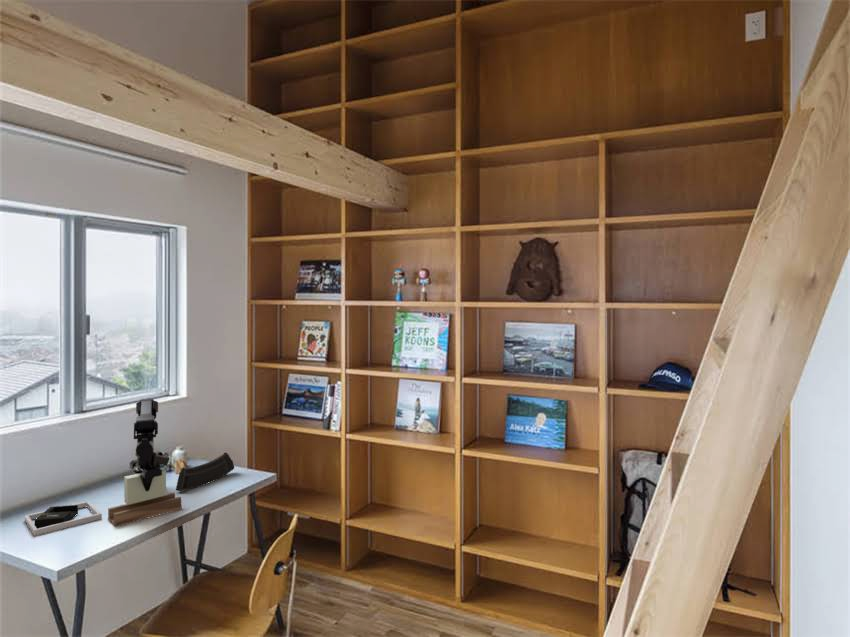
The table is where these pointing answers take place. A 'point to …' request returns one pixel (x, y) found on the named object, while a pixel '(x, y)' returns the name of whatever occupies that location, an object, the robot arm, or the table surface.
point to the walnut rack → (143, 509)
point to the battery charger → (56, 515)
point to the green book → (137, 492)
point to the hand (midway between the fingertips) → (145, 489)
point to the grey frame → (62, 525)
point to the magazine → (204, 473)
